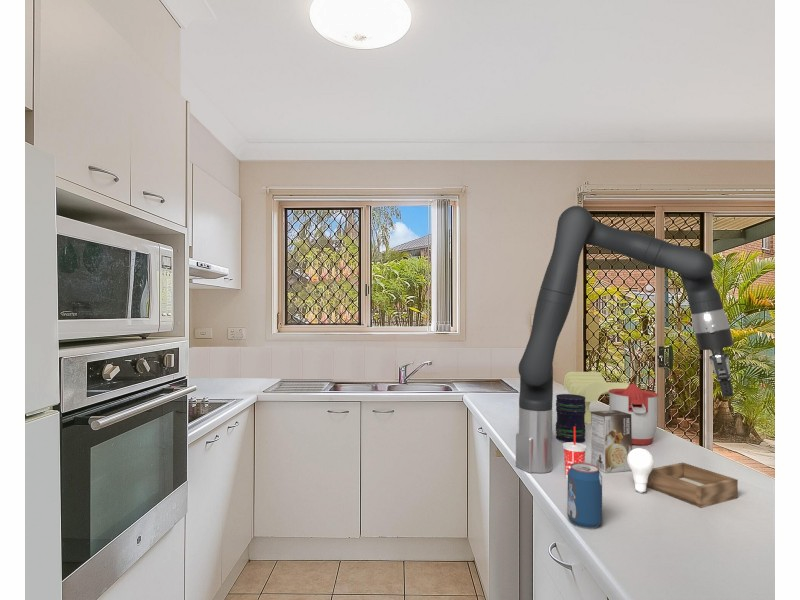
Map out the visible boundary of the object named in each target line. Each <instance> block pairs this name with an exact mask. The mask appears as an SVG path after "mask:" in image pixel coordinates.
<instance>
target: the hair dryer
mask: <svg viewBox="0 0 800 600" xmlns="http://www.w3.org/2000/svg"><path fill="white" fill-rule="evenodd" d="M629 385H630V384H629V382H608V381H606V380H605V378H604V376H603V374H602V372H601V371H568V372H567V373H566V374H565V375H564V378H563V389H566V390H567V391H568V394H573V395H580V396H584V397H585V405H586V408H585V411H586V412H585V424H590V425H591V412H592V410H591V411H590V404H591V403H598V400H599V398H600V397H601V395H609V390H611V389H626V388H627V387H628V386H629Z"/></svg>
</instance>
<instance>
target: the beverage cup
mask: <svg viewBox="0 0 800 600" xmlns="http://www.w3.org/2000/svg"><path fill="white" fill-rule="evenodd" d="M562 448H563V457H564V459H563V460H564V474H565V475H564V476H565V479H566V480H567V481H568V471H569V470H570V468H571V464H573V463H586V451H587V445H586V444H583V443H576V427H575V426H574V442H564V443H562Z"/></svg>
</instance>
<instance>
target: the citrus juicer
mask: <svg viewBox="0 0 800 600" xmlns="http://www.w3.org/2000/svg"><path fill="white" fill-rule="evenodd" d="M608 395H609V397H608V398H609V399H608V400H609V404H608V405H609V410H608V411H611V410H617V411H621V412H625V413H628V414H631V423H632V445H640V446H641V445H643V446H648V445H650V444H652V442H653V441H654V438H655V434H656V432H657V427H658V405H659V404H658V401H659V400H658V399H659V398H658V396H659V394H658V393H657V392H654V391H651V390H650V391H649V390H646V389H644V390H643V389H640V388H639V387H638V386H637V385H636V384H635V383H631V384H629V386H628V387H627V388H626V389H611V390H609V394H608Z"/></svg>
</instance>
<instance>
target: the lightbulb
mask: <svg viewBox="0 0 800 600" xmlns="http://www.w3.org/2000/svg"><path fill="white" fill-rule="evenodd" d="M627 462H628V465H629V467H630V469H631V470H630V471H631V472H632V476H633V477H632V478H633V482H634V490H635V491H637V493H639V494H643V493H645V492H646V491H647V482H648V476H649V474H650V472H651V471H652V469H653V468H655V467H654V466H655V458H654V456H653V454H652V453H651V452H649V451H648V450H647V449H645V448H641V447H636V448H633V449H632V450H631V451H630V452H629V454H628V456H627Z"/></svg>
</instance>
